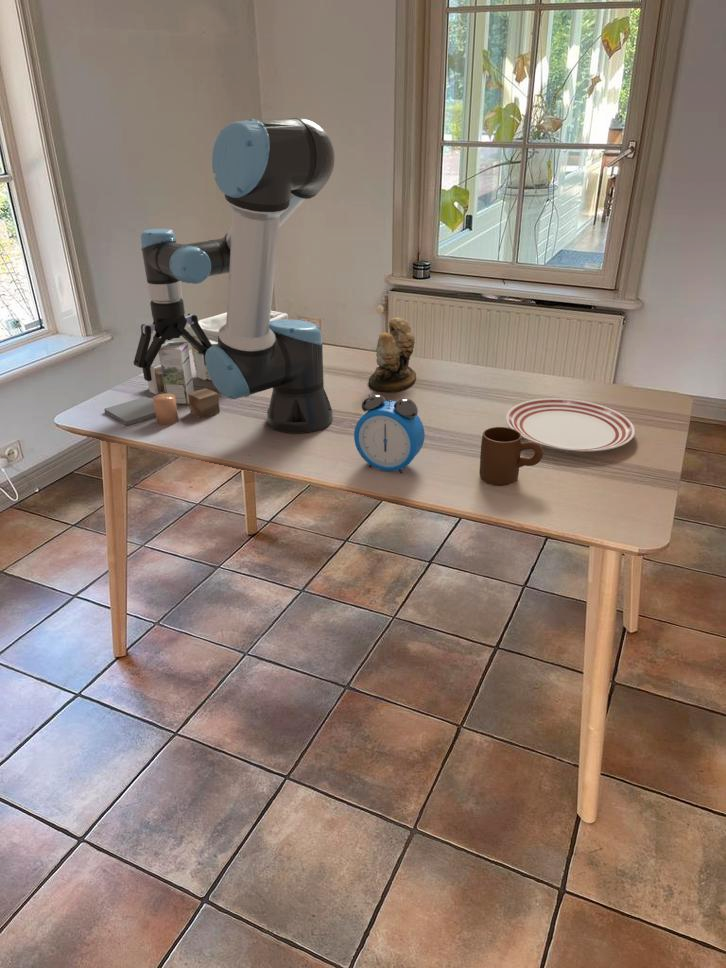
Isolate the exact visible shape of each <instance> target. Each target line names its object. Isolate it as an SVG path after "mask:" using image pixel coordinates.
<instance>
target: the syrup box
mask: <svg viewBox="0 0 726 968" xmlns="http://www.w3.org/2000/svg"><path fill="white" fill-rule="evenodd" d="M158 356H159V363H160V364H159V365H160V367H161V371H162V377H163V383H164V390H165V392H164V393H170V394H174V395H175V399H176V405H189V397H188V394H189V393H192V392H195V388H194V382H193V374H192V368H191V367H192V366H191V365H192V364H191V358H190V350H189V342H188V341H165V343H164V344H162V346H161V348H160V350H159V352H158Z"/></svg>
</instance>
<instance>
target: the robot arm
mask: <svg viewBox="0 0 726 968" xmlns="http://www.w3.org/2000/svg"><path fill="white" fill-rule="evenodd" d="M334 166H335V150H334V145H333V144H332V141H331V139H330V137H329V135H328V133H327V132H326V131H325V130H324V128H322V127H321V126H320V125H319V124H317V123H316V122H314V121H312V120H310V119H307V118H302V117H290V118H271V119H254V118H248V119H244V120H240V121H239V120H238V121H233V122H230V123H228V124H227V125H225V126H224V128H222V129H221V130H220V131H219V133H218V134H217V136H216V138H215V141H214V143H213V148H212V154H211V169H212V173H213V174H215V176H214V181H215V183H216V186H217V187H218V189H219V190H220V191H221V192H222V193H223V194H224V201H226V203H227V204H228V205H229V206H230V207H231V209H232V210H231V211H232V212H231V228H230V229H229V230H228V231H227V232H226V234H225V235H224V236H223V237H222V238H217V239H209V240H204V241H197V242H191V243H185V244H184V243H177V239H176V235H175V232H174V230H172V229H170V228H151V229H146V230H143V231H142V232H141V233H140V245H141V248H140V249H141V252H142V259H143V264H144V265H143V266H144V270H145V277H146V285H147V289H148V297H149V299H150V300H151V301H150V302H149V305H150V312H151V317H152V319H153V322H152V324H145V323H142V324H141V325H140V338H139V342H138V344H137V349H136V353H135V355H134V360H133V365H134V366H135V367H138V368H141V369H142V374H143V378H144V380H145V381H147V382H148V383H147V384H148V390H149V393H153V394H154V395H158V394H159V391H158V390H157V383H156V377H155V371H154V368H155V367H153V366H152V364H153V363H154V361H155V360H156V357H157V356H158V355H159V350H160V348H161V346H162V344H164V343H165V342H167V341H171V340H173V339H180V337H182V338H183V339H184V340H186V342H187V343H188V344H191V345H192V346H193V347H194V348H195V349H196V350H198V352H195V358H196V366H197V374H198V376H197V378H199V379H201V380H203V381H206V380H207V379H206V372H205V365H206V368H207V371H208V374H209V376H210V378H211V380H210V381H211V382H212V384H213V385H214V387H215V388H216V390H217V391H218V392H219V393H220V394H221V395H222V396H224V397H225V398H227V399H230V400H236V399H240V398H247V397H249V396H252V395H253V394H257V393H260V392H263V391H266V390H269V389H272V392H271V397H270V401H269V406H268V409H267V411H266V415H267V417H266V418H267V424H268V426H269V427H271V428H272V429H274V430H276V431H279V432H282V433H289V434H307V433H311V432H312V433H313V432H316V431H320V430H323V429H325V428H327V427H329V426H330V425H331V423H332V422H333V418H334V414H333V408H332V406H331V403H330V400H329V397H328V394H327V392H326V389H325V384H324V383H325V382H324V359H323V354H324V353H323V345H324V343H323V340H322V332H321V328H320V326H318V325H317V324H316V323H313V322H309V321H306V320H300V319H299V320H298V319H289V318H288V319H283V320H274V321H271V322H270V314H271V311H272V301H273V293H274V292H273V291H274V283H275V282H274V281H275V271H276V260H277V249H278V238H279V229H280V227H281V226H282V225H283V224H284V223H285V222H286V221H287V220H288V219H289V218H290V216H291V215H292V214H293V213H294V212H295V211H296V210H297V209H298V208H299V206H300V205H301V204H302V203H303V202H304V201H306V200H311V199H313V198H315V197H316V196H317V195H318V194H319V193H320V192H321V191H322V190H323V188H325V186H326V184H327V183H328V182H329V180H330V178H331V176H332V173H333V171H334ZM225 274H228V290H227V291H228V292H227V308H226V309H227V310H226V312H227V323H226V324H225V325H223V326H222V327H221V328H220V329H219V332H218V344H217V345H212V344H211V343H210V341H209V340H208V338H207V336H206V335H205V333H204V331H203V330H202V328H201V327H200V325H199V323H198V321H199V319H198V316H197V315H195V314H193V313H188V314H187V315H186V316H185V313H186V312H185V304H184V299H183V298H182V297H183V288H182V283H186V284H194V285H196V284H200V283H203V282H204V281H205V280H206V279H208V278H209V277H215V276H218V275H225ZM181 282H182V283H181ZM187 324H188V325H189V324H190V326H191V328H192V329H193V331H194V332H195V334H196V335H197V337H198V339H199V340H200V342H201V343H202V345H201V344H200V343H199V342H198V341H197V340H196V339H194V338H193V337H192V336H191V335H190V333H189V332H188V331H187V329H186V325H187ZM154 331H155V333H154ZM153 334H154V335H153ZM152 335H153V338H152ZM151 339H152V341H151ZM150 342H151V344H150ZM191 345H190V346H191ZM197 374H196V375H197Z"/></svg>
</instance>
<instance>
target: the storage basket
mask: <svg viewBox="0 0 726 968" xmlns="http://www.w3.org/2000/svg"><path fill="white" fill-rule="evenodd" d="M283 319H289V316H288V314H287V313H286V312H280V311H274V310H271V314H270V322H271V321H274V320H283ZM198 323H199V325H200V327H201V328H202V330H203V331H204V333H205V335H206V336H207V338H208V340H209V341H210V343H211V344H212V345H217V344H218V332H219V329H220V328H221V327H222V326H223V325H225V324H226V323H227V311H226V312H223V313H220V314H216V315H214V316H209V317H205V318H202V319H198ZM186 328H187V329H186V331H188V332H189V333H190V335H191V336H192V337H193V338H194V339H196V340H197V341H198V342H199V343H200V344H201V345H202V343H201V342H200V340H199V339H198V337H197V335H196V334H195V332H194V331H193V329H192V328H191V326H190V324H188V325H187V327H186ZM189 344H190V343H189ZM190 347H191V353H192V357H193V362H194V368H195V374H196V376H197V377H198V374H197V366H196V358H195V352H198V350H196V349H195V348H194V347H193V346H192V345H191V344H190ZM205 372H206V379H205V380H208V381H212V380H211V378H210V376H209V374H208V371H207V368H206V365H205Z"/></svg>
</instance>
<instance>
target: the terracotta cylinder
mask: <svg viewBox="0 0 726 968" xmlns="http://www.w3.org/2000/svg"><path fill="white" fill-rule="evenodd" d="M152 400H153V402H154V409H155V415H156V417H155V419H156V424H157V425H158V426H159V425H160V426H165V427H166V426H167V427H168V426H171V425H174V424H177V423H178V422H179V421H180V420H179V414H178V406H177V405H178V404H176V399H175V395H174V394H170V393H165V392H162V393H158V394H155V395H154V396H153V397H152Z"/></svg>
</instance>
